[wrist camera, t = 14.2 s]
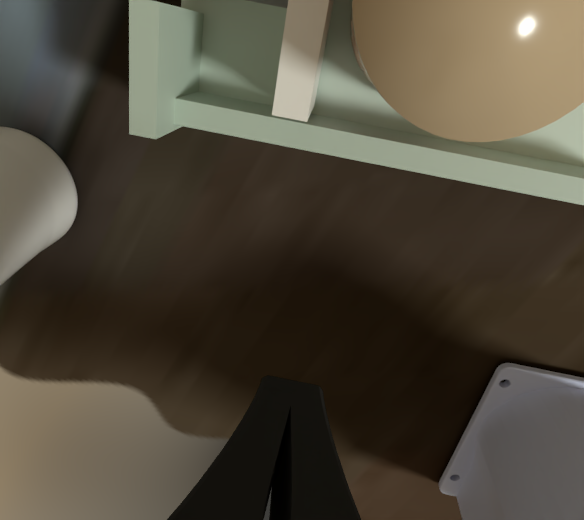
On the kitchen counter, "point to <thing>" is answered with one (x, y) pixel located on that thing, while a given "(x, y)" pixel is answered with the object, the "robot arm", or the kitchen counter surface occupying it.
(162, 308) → the kitchen counter surface
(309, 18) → the pusher
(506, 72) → the jar
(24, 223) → the drinking glass
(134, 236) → the kitchen counter surface
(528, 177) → the pale green shallow tray
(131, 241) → the kitchen counter surface
